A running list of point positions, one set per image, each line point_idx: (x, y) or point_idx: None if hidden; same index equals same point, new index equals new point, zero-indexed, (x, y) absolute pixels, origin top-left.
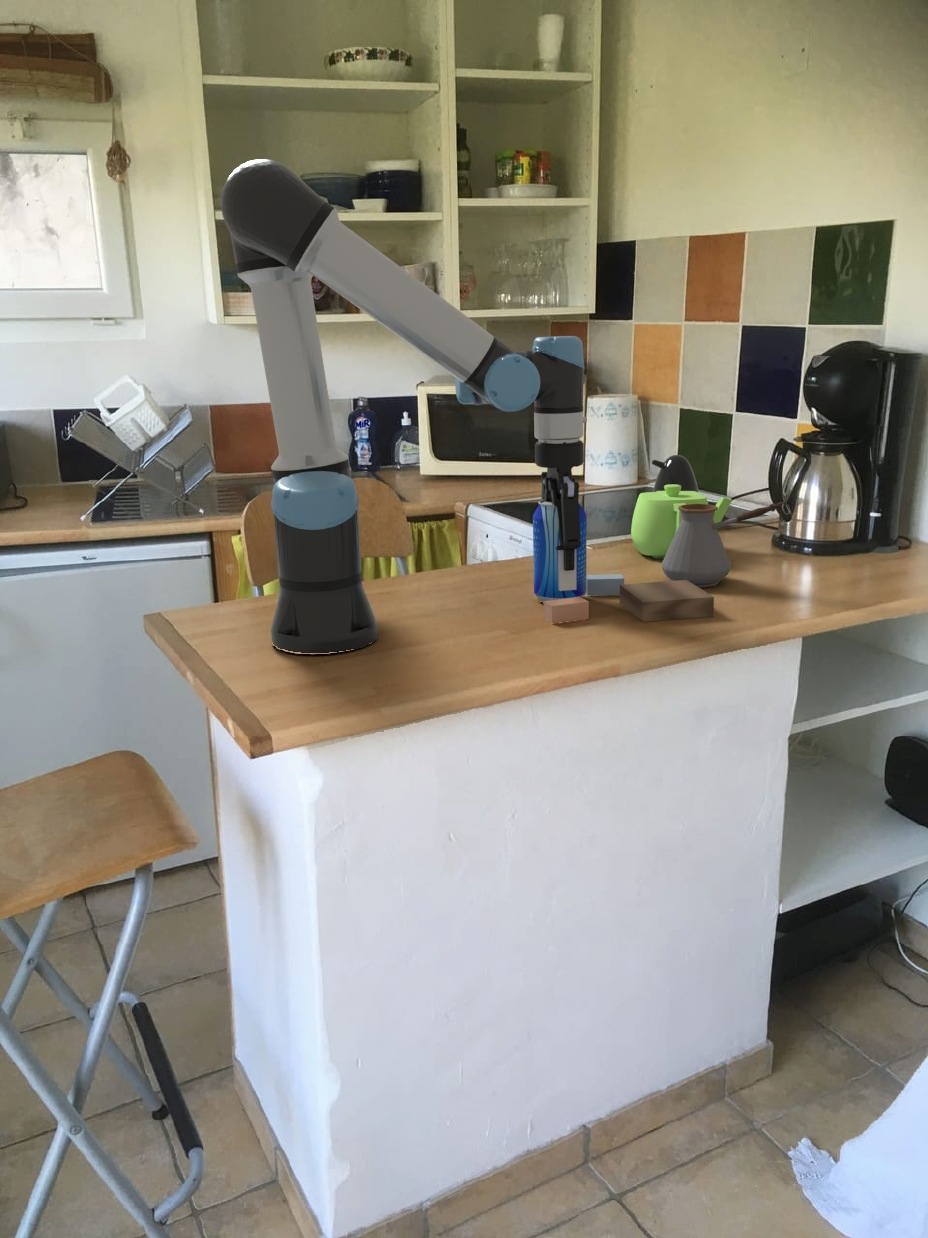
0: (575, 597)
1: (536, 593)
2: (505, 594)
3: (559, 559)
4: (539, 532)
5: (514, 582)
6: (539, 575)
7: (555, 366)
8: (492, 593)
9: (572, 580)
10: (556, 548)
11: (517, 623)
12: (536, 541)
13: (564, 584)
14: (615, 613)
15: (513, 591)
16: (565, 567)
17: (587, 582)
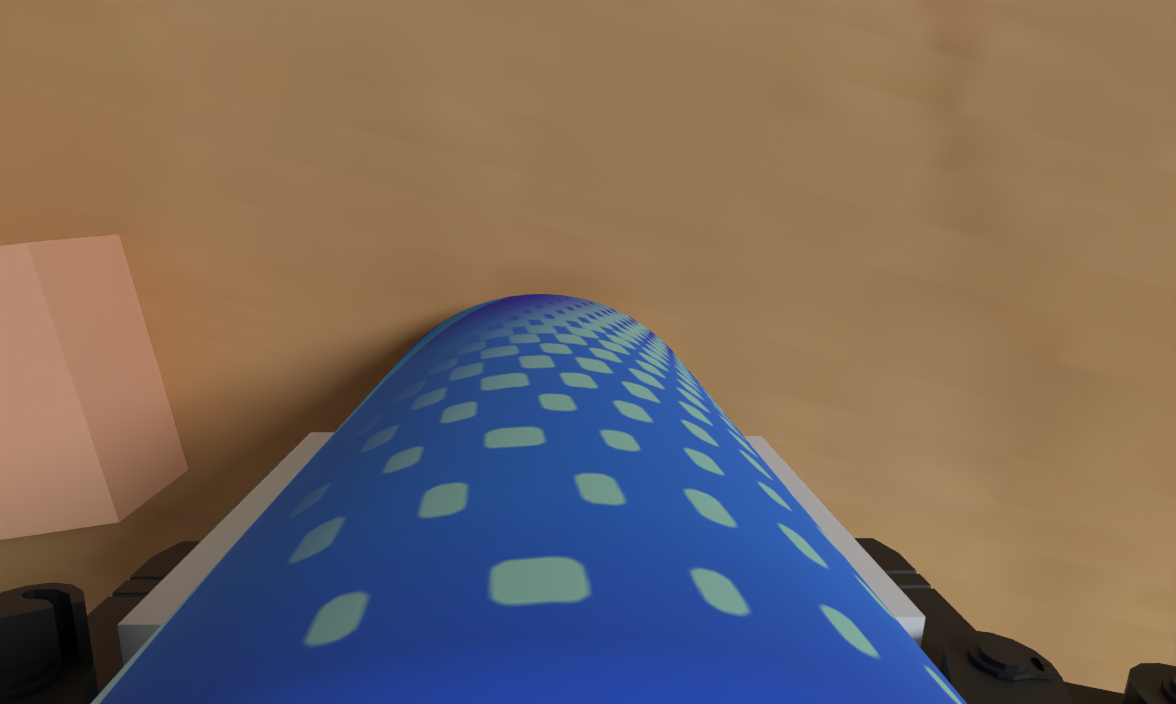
0: (107, 489)
1: (505, 299)
2: (791, 147)
3: (187, 557)
4: (297, 535)
5: (1057, 284)
6: (443, 341)
7: None
8: (850, 63)
9: None
10: (30, 598)
11: (41, 34)
12: (430, 429)
13: None
14: None
15: (844, 219)
16: (158, 559)
17: None
